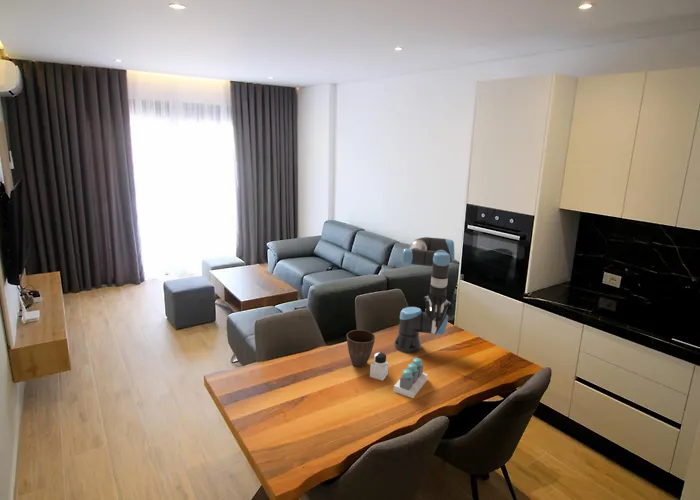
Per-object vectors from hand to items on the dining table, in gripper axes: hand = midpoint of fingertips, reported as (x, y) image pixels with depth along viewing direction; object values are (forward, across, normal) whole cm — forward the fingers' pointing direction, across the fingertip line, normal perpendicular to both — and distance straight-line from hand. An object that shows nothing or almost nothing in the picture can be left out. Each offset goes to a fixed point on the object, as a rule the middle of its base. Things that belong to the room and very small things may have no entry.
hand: (433, 332), depth 205 cm
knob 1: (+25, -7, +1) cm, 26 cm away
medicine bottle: (+29, -24, -6) cm, 38 cm away
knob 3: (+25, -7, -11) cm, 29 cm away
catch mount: (+28, -7, -5) cm, 30 cm away
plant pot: (+29, -38, -1) cm, 48 cm away
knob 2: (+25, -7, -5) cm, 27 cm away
